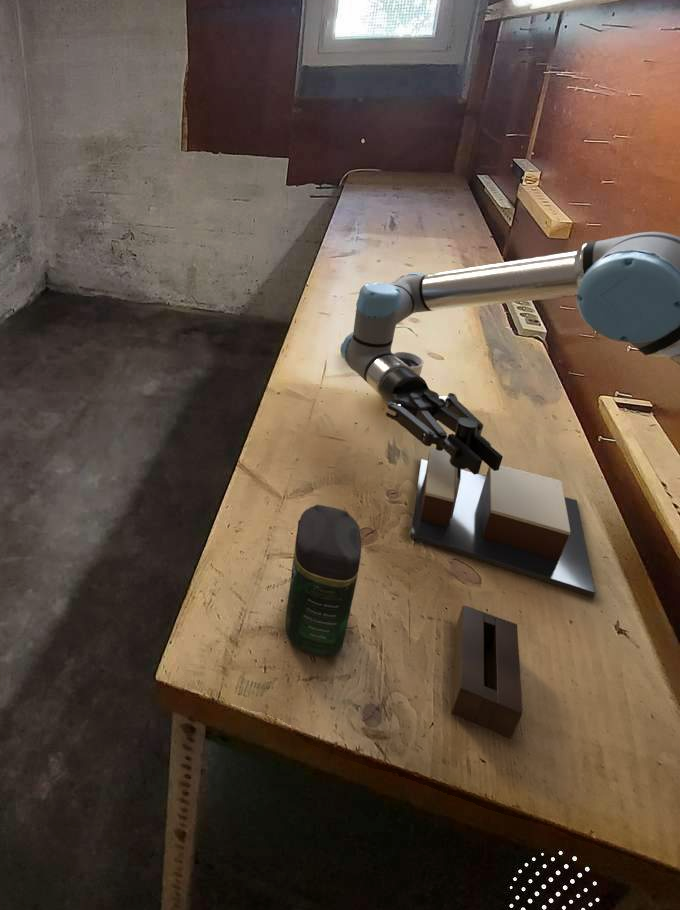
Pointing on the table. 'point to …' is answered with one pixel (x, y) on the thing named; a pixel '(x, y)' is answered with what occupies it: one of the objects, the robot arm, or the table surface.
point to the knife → (467, 435)
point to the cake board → (469, 542)
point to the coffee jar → (323, 580)
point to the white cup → (411, 361)
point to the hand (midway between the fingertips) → (488, 465)
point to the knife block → (503, 692)
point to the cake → (525, 511)
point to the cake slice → (438, 489)
